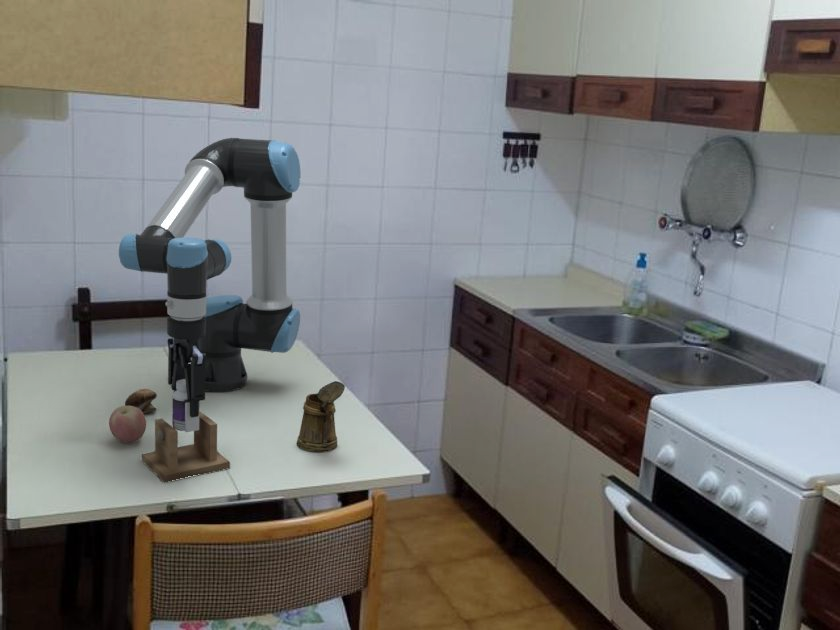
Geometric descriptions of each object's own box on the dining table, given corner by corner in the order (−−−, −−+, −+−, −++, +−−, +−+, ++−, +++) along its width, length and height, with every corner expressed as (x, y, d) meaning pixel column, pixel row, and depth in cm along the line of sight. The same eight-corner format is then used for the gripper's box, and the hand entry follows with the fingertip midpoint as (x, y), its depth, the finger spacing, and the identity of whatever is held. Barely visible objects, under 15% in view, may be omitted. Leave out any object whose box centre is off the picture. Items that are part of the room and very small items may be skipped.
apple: (104, 438, 194) (103, 404, 192) (138, 432, 199) (138, 399, 197) (116, 451, 188) (116, 416, 186) (151, 445, 193) (151, 410, 191)
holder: (142, 460, 185) (141, 418, 182) (205, 448, 193) (205, 407, 191) (164, 482, 176) (164, 437, 173) (229, 468, 184) (230, 425, 182)
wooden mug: (312, 463, 190) (315, 383, 185) (291, 439, 201) (294, 364, 197) (350, 457, 194) (355, 379, 189) (328, 435, 205) (331, 361, 201)
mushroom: (168, 401, 210) (153, 379, 209) (140, 420, 205) (124, 398, 205) (158, 407, 216) (144, 385, 216) (131, 425, 212) (116, 403, 211)
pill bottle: (192, 433, 179) (192, 387, 177) (167, 429, 180) (167, 384, 178) (203, 424, 184) (204, 379, 182) (179, 420, 185) (180, 376, 183)
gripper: (150, 307, 181) (151, 414, 187) (187, 329, 167) (187, 444, 173) (185, 304, 186) (184, 408, 191) (224, 325, 172) (222, 437, 177)
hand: (185, 425), depth 182 cm, fingers closed on pill bottle, 5 cm apart
